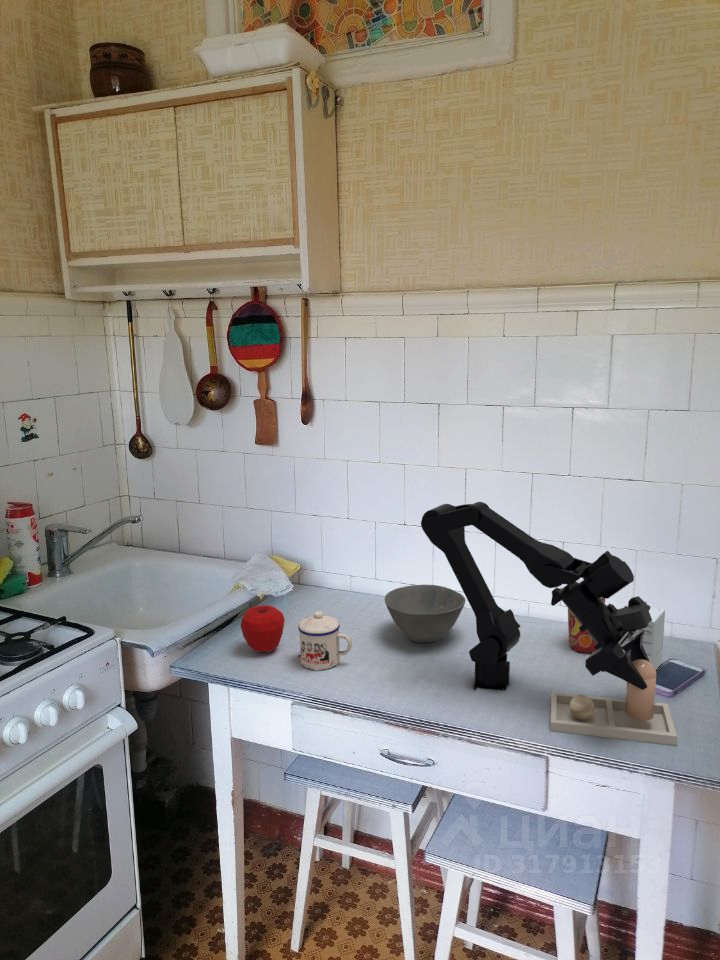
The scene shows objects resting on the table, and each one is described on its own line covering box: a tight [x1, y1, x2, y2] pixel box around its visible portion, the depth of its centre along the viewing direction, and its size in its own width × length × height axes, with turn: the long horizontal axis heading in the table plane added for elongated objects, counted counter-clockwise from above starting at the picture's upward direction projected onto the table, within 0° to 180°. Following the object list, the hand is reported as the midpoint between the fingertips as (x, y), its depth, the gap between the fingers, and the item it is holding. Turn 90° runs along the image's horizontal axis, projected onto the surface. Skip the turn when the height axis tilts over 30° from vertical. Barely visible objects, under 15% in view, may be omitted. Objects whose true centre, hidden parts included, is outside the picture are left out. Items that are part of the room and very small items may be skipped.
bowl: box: [384, 584, 467, 644], centre depth 169 cm, size 19×19×10 cm
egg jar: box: [625, 659, 657, 721], centre depth 129 cm, size 5×5×10 cm
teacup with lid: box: [297, 611, 353, 670], centre depth 158 cm, size 12×9×12 cm
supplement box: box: [626, 605, 666, 670], centre depth 152 cm, size 7×7×13 cm
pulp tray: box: [549, 691, 678, 746], centre depth 132 cm, size 21×11×2 cm, turn 75°
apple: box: [240, 604, 285, 653], centre depth 165 cm, size 10×10×11 cm
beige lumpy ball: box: [570, 694, 594, 720], centre depth 133 cm, size 4×4×4 cm
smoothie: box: [567, 578, 606, 654], centre depth 160 cm, size 8×8×20 cm
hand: (649, 682), depth 128 cm, fingers closed on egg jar, 5 cm apart
